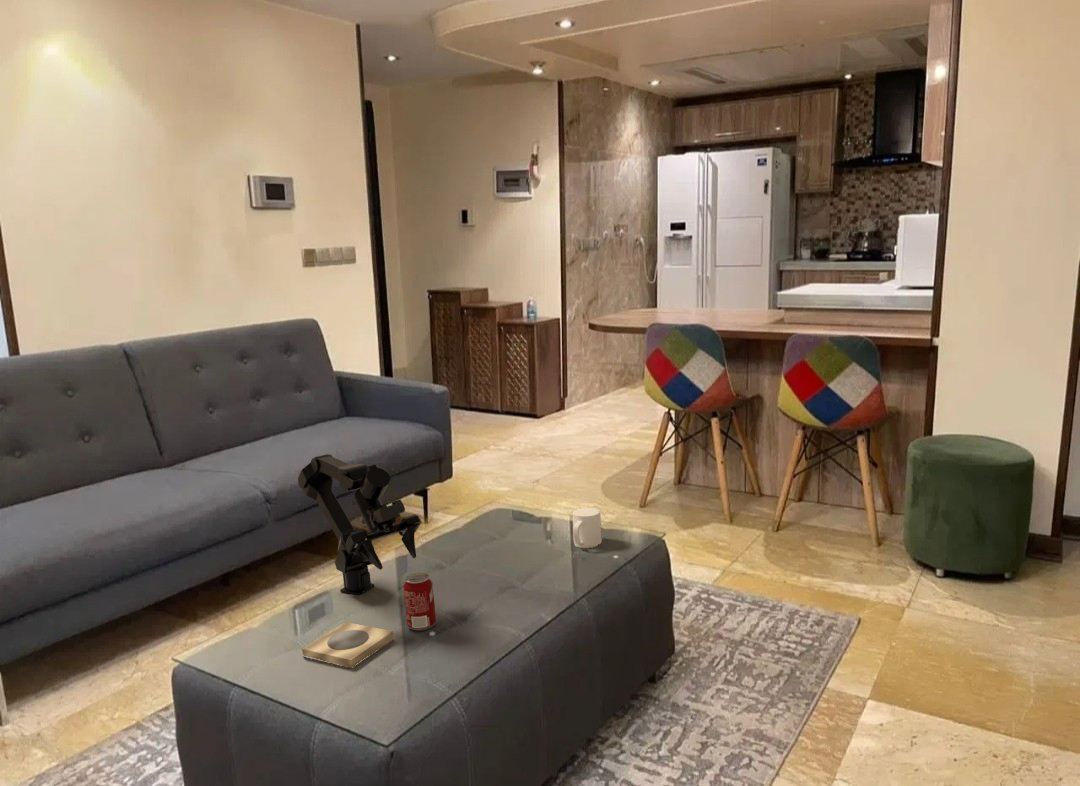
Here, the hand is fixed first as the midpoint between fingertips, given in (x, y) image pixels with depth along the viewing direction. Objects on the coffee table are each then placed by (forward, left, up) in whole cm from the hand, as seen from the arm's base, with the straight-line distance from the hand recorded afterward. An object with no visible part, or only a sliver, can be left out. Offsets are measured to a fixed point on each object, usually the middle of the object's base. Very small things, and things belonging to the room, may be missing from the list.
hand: (398, 563), depth 193 cm
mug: (+22, +58, -13) cm, 63 cm away
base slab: (-1, -18, -13) cm, 23 cm away
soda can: (+8, -3, -13) cm, 16 cm away
